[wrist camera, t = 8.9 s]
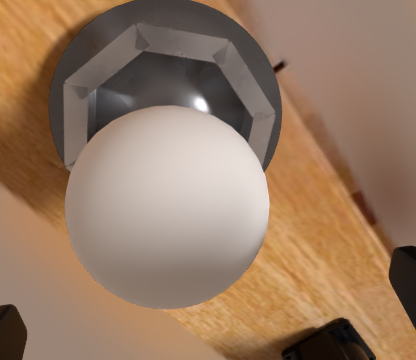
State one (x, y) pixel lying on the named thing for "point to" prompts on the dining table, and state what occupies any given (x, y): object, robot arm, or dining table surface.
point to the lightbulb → (167, 207)
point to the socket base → (163, 74)
